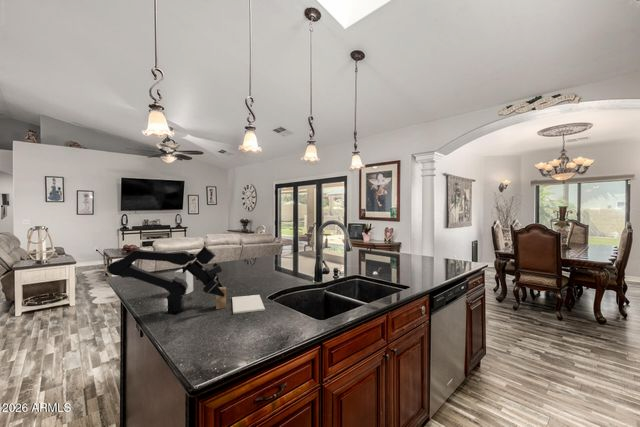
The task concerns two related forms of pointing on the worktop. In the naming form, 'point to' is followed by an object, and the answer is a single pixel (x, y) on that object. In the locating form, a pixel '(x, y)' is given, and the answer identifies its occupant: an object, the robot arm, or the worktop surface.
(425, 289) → the worktop surface
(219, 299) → the oak block
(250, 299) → the cutting board
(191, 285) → the supplement box
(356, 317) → the worktop surface
